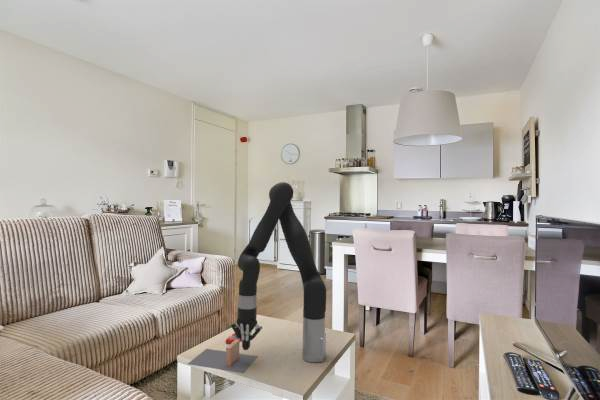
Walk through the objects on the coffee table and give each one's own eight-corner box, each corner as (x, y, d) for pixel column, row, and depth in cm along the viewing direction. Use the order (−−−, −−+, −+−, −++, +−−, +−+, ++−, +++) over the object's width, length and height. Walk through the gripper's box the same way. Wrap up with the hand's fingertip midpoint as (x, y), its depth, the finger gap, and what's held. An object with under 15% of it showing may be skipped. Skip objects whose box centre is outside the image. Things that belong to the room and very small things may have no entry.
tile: (239, 357, 134) (239, 340, 134) (230, 366, 127) (230, 348, 127) (234, 356, 135) (235, 339, 135) (225, 365, 127) (225, 347, 127)
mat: (258, 357, 135) (258, 356, 135) (243, 374, 122) (243, 373, 122) (206, 350, 142) (206, 348, 142) (187, 365, 128) (187, 363, 128)
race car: (230, 347, 145) (230, 338, 145) (223, 344, 149) (223, 335, 149) (253, 338, 155) (253, 330, 155) (246, 335, 159) (246, 327, 159)
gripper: (266, 304, 132) (265, 347, 131) (236, 300, 135) (235, 342, 135) (259, 310, 124) (257, 356, 124) (227, 306, 128) (226, 350, 128)
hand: (245, 349), depth 130 cm, fingers closed
